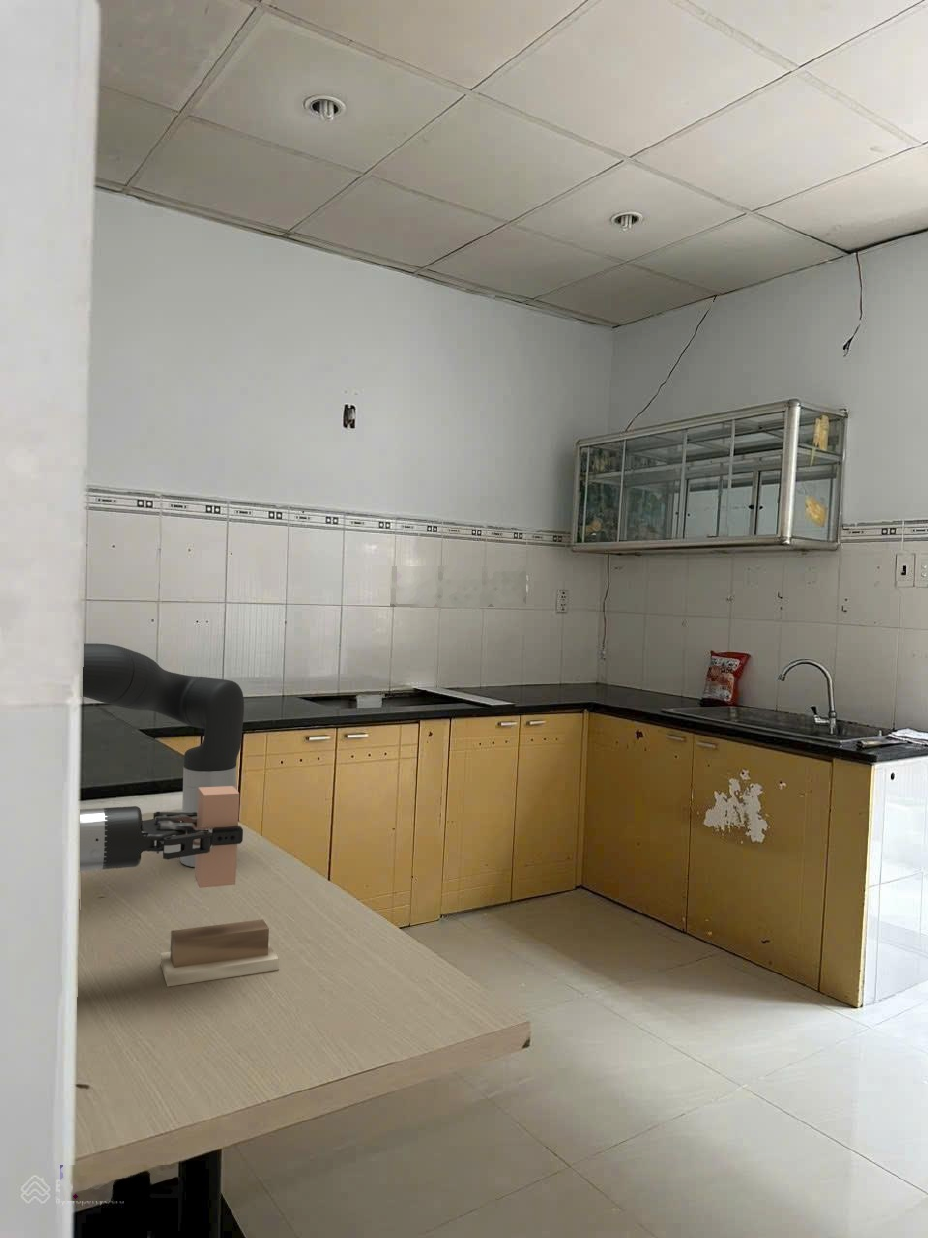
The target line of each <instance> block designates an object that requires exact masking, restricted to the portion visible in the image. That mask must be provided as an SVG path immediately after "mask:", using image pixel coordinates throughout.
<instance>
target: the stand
mask: <svg viewBox="0 0 928 1238" xmlns="http://www.w3.org/2000/svg"><path fill="white" fill-rule="evenodd" d="M269 934H270V928H269V926H268V925H267V924H266V922H265V921H264V919H263V918H262V919H253V920H246V921H239V922H231V923H221V924H214V925H206V926H200V927H199V926H198V927H197V926H196V927H190V928H183V929H175V930H171V931H170V951H164V952H160V967H161V971H162V973H163V977H164V979H165V983H166V987H175V986H179V985H180V986H181V985H188V984H193V983H194V984H195V983H200V982H201V983H202V982H207V981H212V980H213V981H214V980H221V979H226V978H232V977H239V976H241V977H242V976H247V975H253V974H260V973H265V972H273V971H278V970H279V962H280V961H279V957H278V955H277V954H276V951H274V949H273V947H272V945H271V944H270V942H269V936H270V935H269Z"/></svg>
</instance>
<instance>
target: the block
mask: <svg viewBox="0 0 928 1238" xmlns="http://www.w3.org/2000/svg"><path fill="white" fill-rule="evenodd" d="M239 808H240V792H239V791H238V790H237V788H236V789H235V788H234V787H233V786H222V787H199V789H198V811H197V827H211V828H214V827H229V826H239ZM196 842H200V839H196ZM237 849H238V844H231V845H217V846H213V847H212V848H210V852H208V853H203V854H197V855H195V867H194V879H195V881H196V884H197V885H198V887H199V888H200V889H203V888H212V887H213V888H214V887H224V886H233V885H234V886H235V885H236V874H237V873H236V872H237V870H236V868H237V854H238V853H237V851H238V850H237Z"/></svg>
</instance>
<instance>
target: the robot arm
mask: <svg viewBox="0 0 928 1238" xmlns="http://www.w3.org/2000/svg"><path fill="white" fill-rule="evenodd" d="M83 643H84V642H83ZM83 698H86V699H87V698H88V699H91V700H94V701H97V702H99V703H104V704H108V705H111V706H116V707H119V708H122V709H123V708H125V709H127V710H128V709H129V710H135V711H151V712H156V713H159V714H161V715H163V716H165V717H168V718H171V719H172V720H175V721H178V722H179V723H181V724H184V725H187V726H189V727H193V728H198V729H203V730H204V732H203V733H204V735H203V740H202V743H200V745H197V746H194V747H192V748H188V749H187V750H186V751H185V752H184V754H183V764H182V765H183V769H182V771H183V772H182V773H183V776H182V806H181V812H175V811H174V812H168V811H166V812H165V811H163V812H161V811H155V812H153V813H152V814H153V816H152V817H153V818H151V819H147V820H145V819H144V820H143V813H142V809H141V807H139V806H136V805H134V806H132V805H131V806H114V807H113V806H112V807H97V808H96V807H95V808H82V809H80V871H79V872H88V871H89V872H90V871H99V870H111V869H112V870H114V869H124V868H126V869H127V868H135V867H138V866H139V865H140V864H141V860H142V853H143V852H154V853H155V852H156V854H159V855H162V859H164V860H171V859H172V860H173V859H178V858H180V859H179V861H180V863H181V864H183V865H184V866H187V867H192V868H195V855H197V854H203V853H208V852H210V848H212V847H213V846H217V845H231V844H237V845H238V844H239V845H240V844H241V843H242V842H243V839H244V838H243V836H244V829H243V827H242V826H240V825H238V826H229V827H214V828H211V827H197V811H198V789H199V787H222V786H233V787H234V788H235V789H236V790H237V787H236V784H237V783H236V782H237V760H238V755H239V753H240V751H241V747H242V746H241V745H242V737H243V726H244V725H243V724H244V717H245V714H244V713H245V701H244V700H245V699H244V694H243V691H242V688H241V686H240V685H239V684H238V683H236V682H235V681H233V680H229V679H226V678H225V679H222V678H216V677H215V678H214V677H207V676H193V675H192V676H191V675H184V674H180V673H177V672H173V671H172V672H171V671H168V670H165V669H164V668H162V667H161V666H160V665H159V664H158V663H157V662H156V661H155V660H153V659H152V658H150V657H148V656H147V655H145V654H144V653H141V652H137V651H134V650H132V649H129V648H125V647H122V646H119V645H114V644H110V643H84V667H83ZM196 839H200V842H196Z"/></svg>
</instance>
